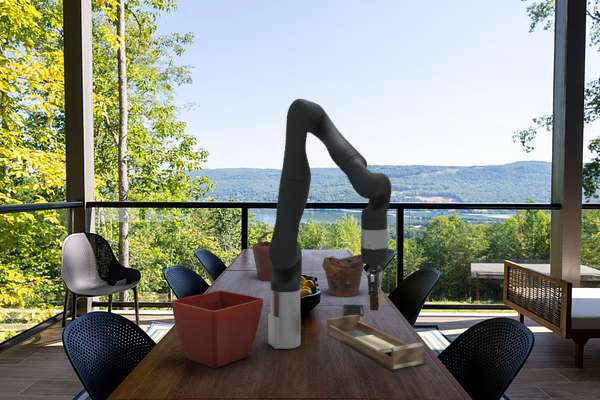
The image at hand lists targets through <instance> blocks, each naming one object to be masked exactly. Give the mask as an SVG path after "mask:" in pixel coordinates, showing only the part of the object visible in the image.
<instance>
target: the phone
mask: <svg viewBox="0 0 600 400" xmlns="http://www.w3.org/2000/svg"><path fill="white" fill-rule="evenodd" d="M342 309H343V310H342V317H344V316H351V315H360V318H361V317H364V305H362V304H343V307H342Z"/></svg>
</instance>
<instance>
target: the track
mask: <svg viewBox="0 0 600 400" xmlns="http://www.w3.org/2000/svg"><path fill="white" fill-rule="evenodd" d="M360 318H361V317H360V315H351V316H348V315H347V316H338V317H331V318H327V321H326V322H327V324H326V326H327V328H326V329H327V335H329V336H331V337H332V338H334V339H335V340H337V341H340V342H341V343H342V344H345V345H346V346H347V347H350V348H352V349H353V350H355V351H357V352H359V353H360V354H362V355H363V356H365V357H367V358H369V359H371V360H372V361H374V362H376V363H378V364H379V365H381V366H383V367H385V368H386V369H388V370H390V371H392V370H397V369H402V368H408V367H413V366H417V365H424V364H426V362H427V351H424V346H425V344H424V342H423V341H420V342H415V343H408V342H405V341H403V340H401V339H399V338H396V337H395V336H392V335H390V334H388V333H386V332H383V330H380V329H378V328H376V327H373V326H370V325H369V324H367V323H365V322H363V321H360V320H361V319H360Z"/></svg>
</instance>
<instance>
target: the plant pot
mask: <svg viewBox="0 0 600 400" xmlns="http://www.w3.org/2000/svg"><path fill="white" fill-rule="evenodd" d="M263 305H264V298H263V297H262V298H261V297H257V296H253V295H247V294H243V293H237V292H232V291H226V290H216V291H212V292H206V293H202V294H196V295H191V296H187V297H183V298H177V299H173V300H171V308H172V314H173V319H174V323H175V327H176V331H177V333H178V338H179V340H180V344H181V346H182V348H183V351H184V354H185V356H186V358H187V359H189V360H191V361H194V362H196V363H200V364H201V365H205V366H207V367H210V368H213V369H216V368H220V367H223V366H225V365H226V366H227V365H228V364H232V363H234V362H236V361H239V360H241V359H245V358H247V357H248V356H249V354H250V352H251V349H252V346H253V344H254V340H255V338H256V335H257V332H258V327H259V324H260V320H261V315H262V310H263Z"/></svg>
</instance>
